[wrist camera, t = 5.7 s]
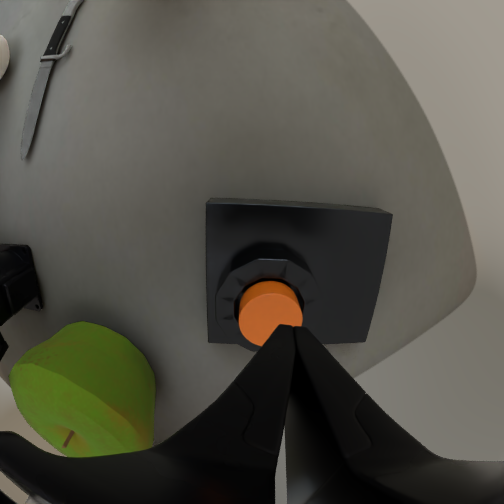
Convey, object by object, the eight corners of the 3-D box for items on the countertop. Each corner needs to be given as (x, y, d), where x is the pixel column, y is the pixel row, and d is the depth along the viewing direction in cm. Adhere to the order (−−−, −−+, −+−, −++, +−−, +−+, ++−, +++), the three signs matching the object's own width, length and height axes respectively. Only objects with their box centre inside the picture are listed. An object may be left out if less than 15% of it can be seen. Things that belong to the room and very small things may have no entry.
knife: (97, -4, 13) (70, -1, 12) (94, -8, 12) (67, -4, 11) (42, 163, 17) (19, 160, 17) (38, 163, 17) (14, 160, 16)
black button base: (211, 326, 22) (205, 358, 18) (210, 197, 19) (201, 207, 15) (356, 327, 22) (373, 355, 18) (379, 208, 19) (406, 220, 15)
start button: (238, 330, 18) (238, 346, 16) (240, 279, 17) (239, 292, 15) (294, 331, 18) (298, 347, 16) (300, 281, 17) (306, 294, 15)
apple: (40, 315, 22) (-26, 382, 11) (131, 288, 21) (59, 385, 10) (100, 405, 25) (66, 479, 15) (192, 398, 24) (174, 497, 14)
